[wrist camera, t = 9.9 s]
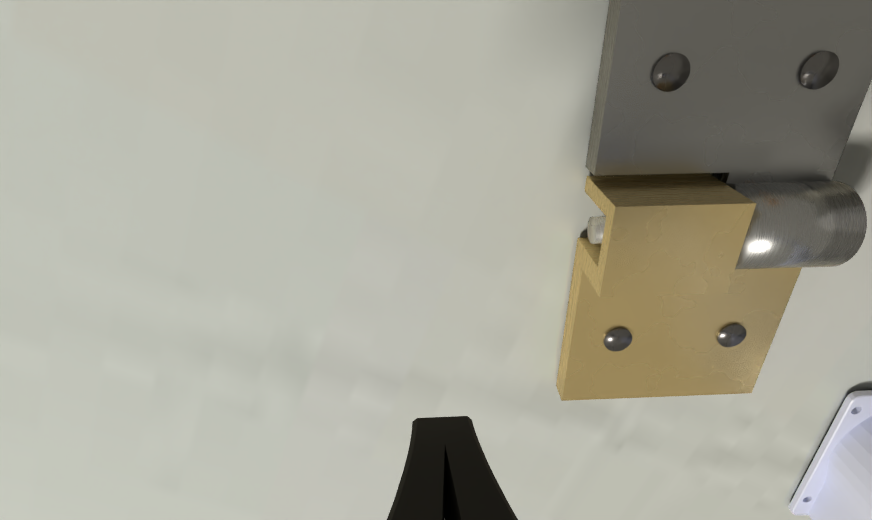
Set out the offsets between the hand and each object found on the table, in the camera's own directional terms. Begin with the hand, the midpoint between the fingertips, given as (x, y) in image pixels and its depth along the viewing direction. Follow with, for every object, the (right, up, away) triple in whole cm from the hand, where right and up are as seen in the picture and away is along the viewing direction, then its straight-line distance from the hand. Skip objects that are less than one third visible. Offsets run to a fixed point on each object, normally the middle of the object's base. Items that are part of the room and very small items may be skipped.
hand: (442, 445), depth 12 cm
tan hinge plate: (+10, +3, +9) cm, 14 cm away
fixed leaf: (+10, +10, +6) cm, 15 cm away
